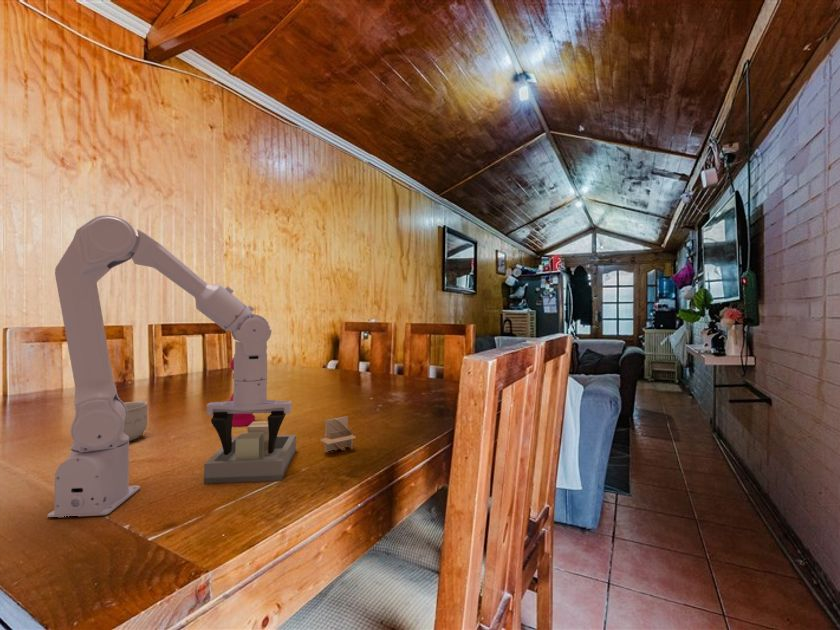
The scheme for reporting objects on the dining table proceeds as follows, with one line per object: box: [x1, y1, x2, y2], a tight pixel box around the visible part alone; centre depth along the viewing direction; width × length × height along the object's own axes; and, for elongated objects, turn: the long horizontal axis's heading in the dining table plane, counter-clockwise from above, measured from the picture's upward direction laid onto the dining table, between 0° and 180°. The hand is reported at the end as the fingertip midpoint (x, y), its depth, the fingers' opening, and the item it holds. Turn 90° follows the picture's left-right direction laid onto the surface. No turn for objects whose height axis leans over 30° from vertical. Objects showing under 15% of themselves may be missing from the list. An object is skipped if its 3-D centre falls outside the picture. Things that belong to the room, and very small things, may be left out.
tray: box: [203, 434, 297, 485], centre depth 81 cm, size 16×13×4 cm
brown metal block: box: [247, 420, 270, 456], centre depth 85 cm, size 4×4×6 cm
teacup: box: [123, 400, 148, 442], centre depth 97 cm, size 14×11×8 cm
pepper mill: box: [228, 357, 256, 427], centre depth 111 cm, size 7×7×20 cm
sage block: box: [235, 432, 264, 460], centre depth 77 cm, size 4×4×6 cm
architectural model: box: [320, 415, 357, 453], centre depth 89 cm, size 3×7×7 cm, turn 132°
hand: (249, 452), depth 77 cm, fingers open, 7 cm apart
